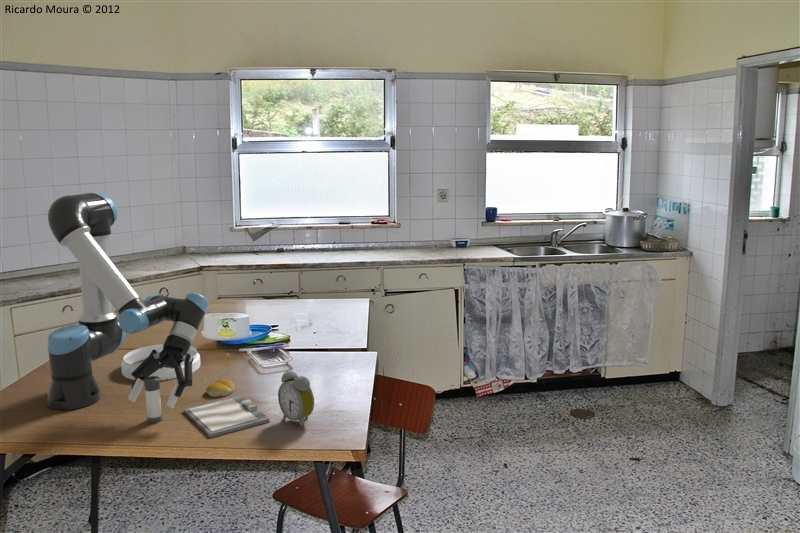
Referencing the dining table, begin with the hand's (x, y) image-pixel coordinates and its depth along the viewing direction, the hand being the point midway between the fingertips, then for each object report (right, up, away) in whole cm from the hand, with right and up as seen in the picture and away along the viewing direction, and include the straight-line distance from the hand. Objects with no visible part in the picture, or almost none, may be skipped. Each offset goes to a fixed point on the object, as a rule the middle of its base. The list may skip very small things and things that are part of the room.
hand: (150, 403), depth 191 cm
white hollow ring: (-14, +3, +48) cm, 50 cm away
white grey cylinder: (0, -6, +3) cm, 6 cm away
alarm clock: (+43, -6, +2) cm, 44 cm away
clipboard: (+21, -5, +6) cm, 22 cm away
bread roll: (+14, -2, +25) cm, 29 cm away
